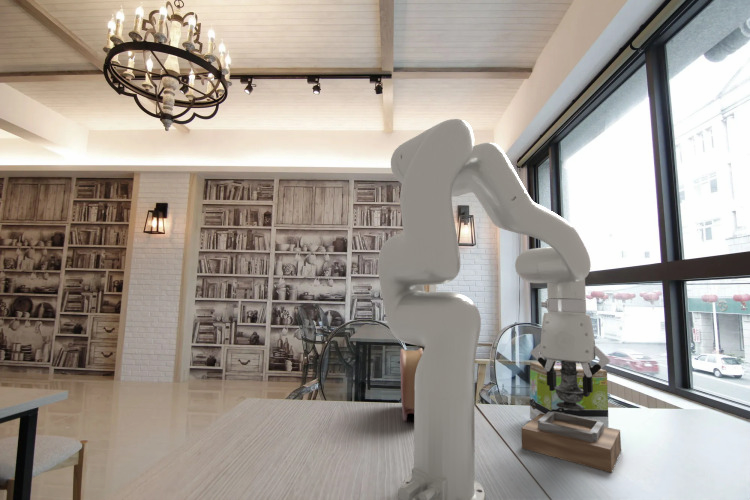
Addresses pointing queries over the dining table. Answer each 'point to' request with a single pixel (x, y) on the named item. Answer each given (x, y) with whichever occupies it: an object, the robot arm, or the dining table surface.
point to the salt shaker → (569, 387)
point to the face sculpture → (408, 379)
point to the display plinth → (573, 439)
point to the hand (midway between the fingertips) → (569, 391)
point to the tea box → (547, 400)
